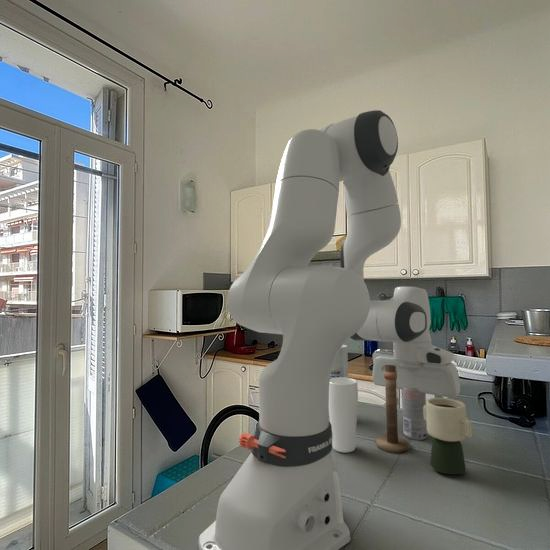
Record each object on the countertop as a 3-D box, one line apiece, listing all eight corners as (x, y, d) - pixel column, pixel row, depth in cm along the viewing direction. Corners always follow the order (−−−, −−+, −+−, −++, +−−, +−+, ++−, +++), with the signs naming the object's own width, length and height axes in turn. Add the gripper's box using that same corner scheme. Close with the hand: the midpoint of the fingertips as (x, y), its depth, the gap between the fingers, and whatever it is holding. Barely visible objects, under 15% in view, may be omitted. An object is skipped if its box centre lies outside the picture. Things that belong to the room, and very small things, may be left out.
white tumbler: (357, 457, 74) (355, 385, 75) (325, 452, 76) (324, 383, 77) (360, 444, 81) (359, 378, 81) (331, 440, 83) (330, 376, 84)
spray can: (321, 419, 97) (320, 346, 98) (332, 412, 102) (330, 343, 103) (342, 423, 93) (341, 348, 94) (353, 416, 98) (351, 345, 100)
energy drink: (423, 431, 87) (421, 383, 88) (430, 440, 82) (428, 388, 83) (400, 431, 88) (399, 382, 89) (406, 440, 83) (405, 388, 83)
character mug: (486, 479, 65) (483, 408, 65) (459, 488, 62) (456, 413, 63) (438, 455, 75) (435, 393, 75) (412, 461, 72) (410, 397, 73)
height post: (402, 456, 74) (399, 370, 75) (371, 447, 79) (369, 366, 80) (413, 445, 80) (411, 365, 81) (384, 437, 84) (381, 361, 85)
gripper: (367, 349, 90) (368, 404, 90) (453, 358, 77) (456, 422, 76) (377, 346, 95) (379, 398, 94) (460, 354, 82) (463, 414, 81)
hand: (414, 409), depth 85 cm, fingers open, 8 cm apart
